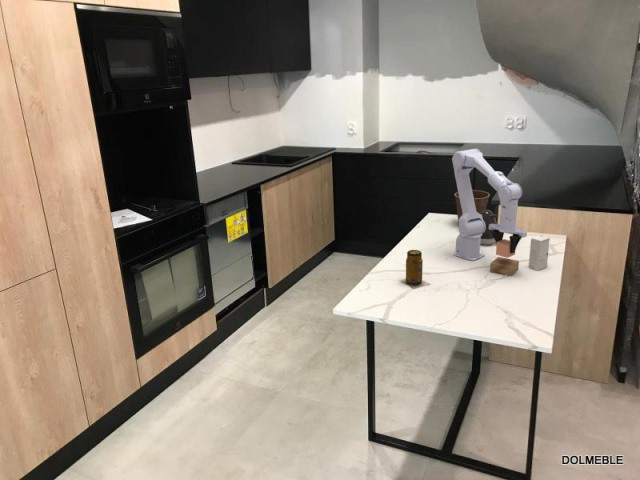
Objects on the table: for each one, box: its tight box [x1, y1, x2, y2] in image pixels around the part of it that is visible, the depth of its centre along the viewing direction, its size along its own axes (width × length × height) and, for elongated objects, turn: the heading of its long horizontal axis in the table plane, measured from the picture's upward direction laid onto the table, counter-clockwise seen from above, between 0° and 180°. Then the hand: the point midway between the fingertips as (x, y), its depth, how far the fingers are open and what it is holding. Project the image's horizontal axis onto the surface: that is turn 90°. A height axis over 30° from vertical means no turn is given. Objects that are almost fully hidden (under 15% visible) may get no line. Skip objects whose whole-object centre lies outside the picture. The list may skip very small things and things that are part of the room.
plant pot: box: [454, 189, 491, 227], centre depth 245 cm, size 16×16×16 cm
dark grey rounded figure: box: [480, 209, 498, 246], centre depth 222 cm, size 10×10×15 cm
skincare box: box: [528, 235, 551, 271], centre depth 194 cm, size 6×4×12 cm
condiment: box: [400, 249, 430, 289], centre depth 186 cm, size 7×8×12 cm
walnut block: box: [489, 256, 520, 277], centre depth 194 cm, size 8×8×4 cm
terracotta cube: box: [495, 238, 516, 259], centre depth 191 cm, size 5×5×5 cm
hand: (505, 250), depth 192 cm, fingers closed on terracotta cube, 5 cm apart
